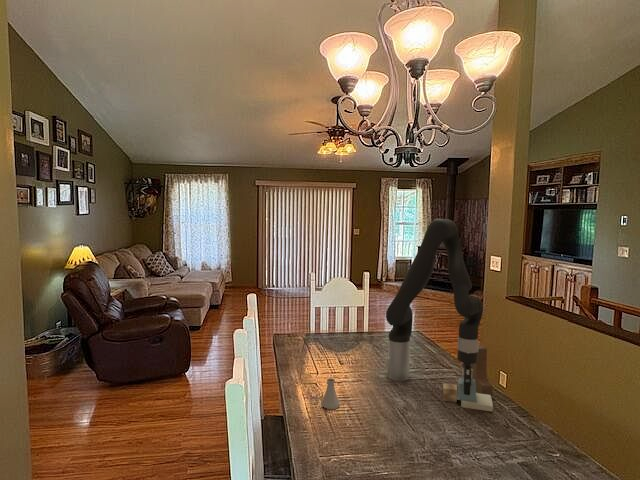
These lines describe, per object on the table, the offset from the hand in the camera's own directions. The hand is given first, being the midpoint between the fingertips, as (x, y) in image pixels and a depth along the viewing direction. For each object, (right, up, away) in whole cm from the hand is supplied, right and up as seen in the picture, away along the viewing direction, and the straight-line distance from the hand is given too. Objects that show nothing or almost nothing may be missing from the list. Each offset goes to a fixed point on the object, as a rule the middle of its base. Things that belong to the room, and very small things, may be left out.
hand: (466, 389), depth 154 cm
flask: (-53, -5, -3) cm, 53 cm away
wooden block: (+10, -5, +10) cm, 14 cm away
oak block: (-5, -5, +3) cm, 8 cm away
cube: (0, -3, 0) cm, 3 cm away
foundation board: (+3, -5, -1) cm, 6 cm away
